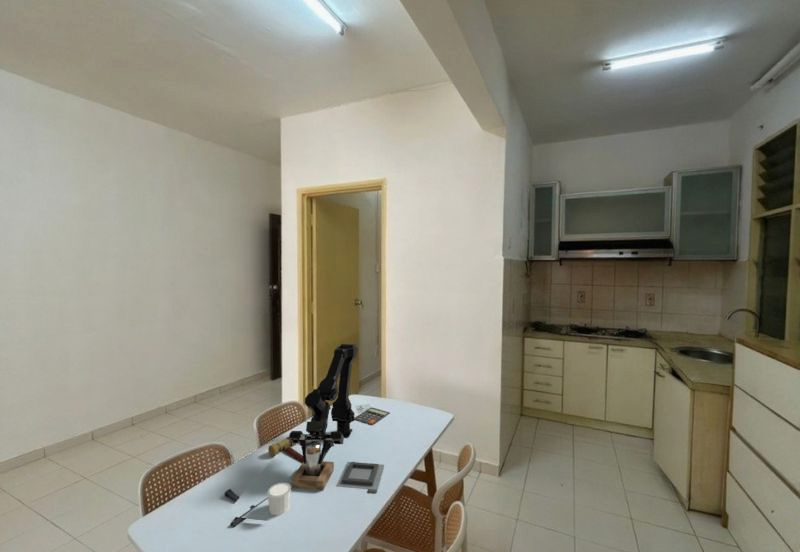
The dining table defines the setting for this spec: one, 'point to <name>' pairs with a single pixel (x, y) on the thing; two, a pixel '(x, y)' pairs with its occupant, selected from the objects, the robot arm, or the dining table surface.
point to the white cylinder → (279, 498)
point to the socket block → (313, 477)
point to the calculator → (371, 416)
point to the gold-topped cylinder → (313, 458)
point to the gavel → (285, 449)
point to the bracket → (234, 497)
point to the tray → (361, 476)
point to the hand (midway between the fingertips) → (312, 464)
